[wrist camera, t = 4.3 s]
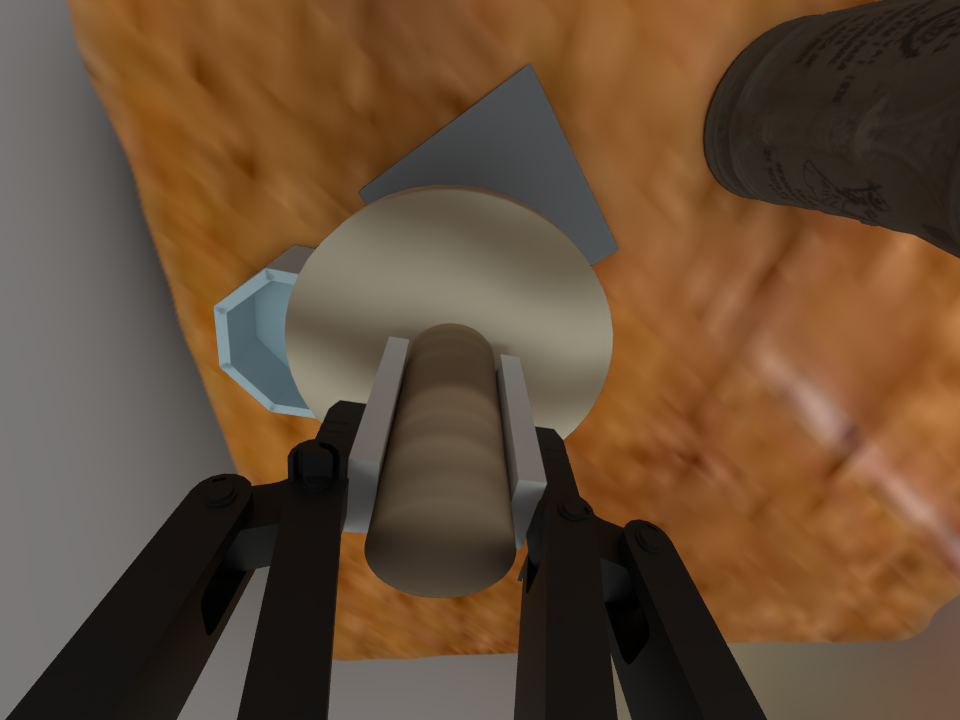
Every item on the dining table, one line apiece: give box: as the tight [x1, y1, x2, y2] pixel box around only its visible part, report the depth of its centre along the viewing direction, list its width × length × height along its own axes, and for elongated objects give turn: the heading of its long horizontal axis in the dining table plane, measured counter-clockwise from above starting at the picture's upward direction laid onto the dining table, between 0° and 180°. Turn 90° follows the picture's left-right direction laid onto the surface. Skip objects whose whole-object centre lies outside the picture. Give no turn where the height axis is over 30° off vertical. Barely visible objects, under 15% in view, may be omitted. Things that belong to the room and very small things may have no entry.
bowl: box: [214, 245, 316, 418], centre depth 34 cm, size 12×12×6 cm
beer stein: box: [704, 0, 960, 258], centre depth 22 cm, size 15×11×20 cm
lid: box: [285, 185, 613, 598], centre depth 15 cm, size 14×14×11 cm
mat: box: [358, 63, 619, 266], centre depth 32 cm, size 14×14×1 cm
